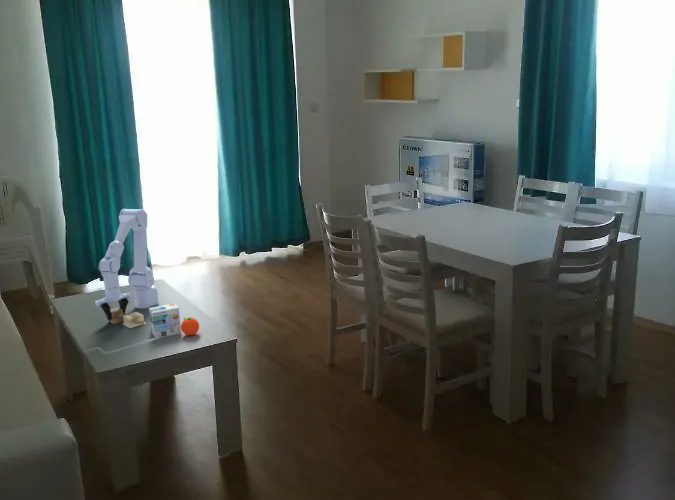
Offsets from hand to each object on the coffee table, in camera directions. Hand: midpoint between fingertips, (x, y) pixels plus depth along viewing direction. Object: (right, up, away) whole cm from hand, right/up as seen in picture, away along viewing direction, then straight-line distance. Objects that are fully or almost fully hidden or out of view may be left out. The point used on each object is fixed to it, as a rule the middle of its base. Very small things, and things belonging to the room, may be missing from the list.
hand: (116, 318), depth 272 cm
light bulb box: (+24, -5, -13) cm, 28 cm away
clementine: (+34, -5, -15) cm, 37 cm away
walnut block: (0, -1, 0) cm, 1 cm away
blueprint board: (+5, -3, -2) cm, 6 cm away
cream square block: (+8, -2, -3) cm, 9 cm away
